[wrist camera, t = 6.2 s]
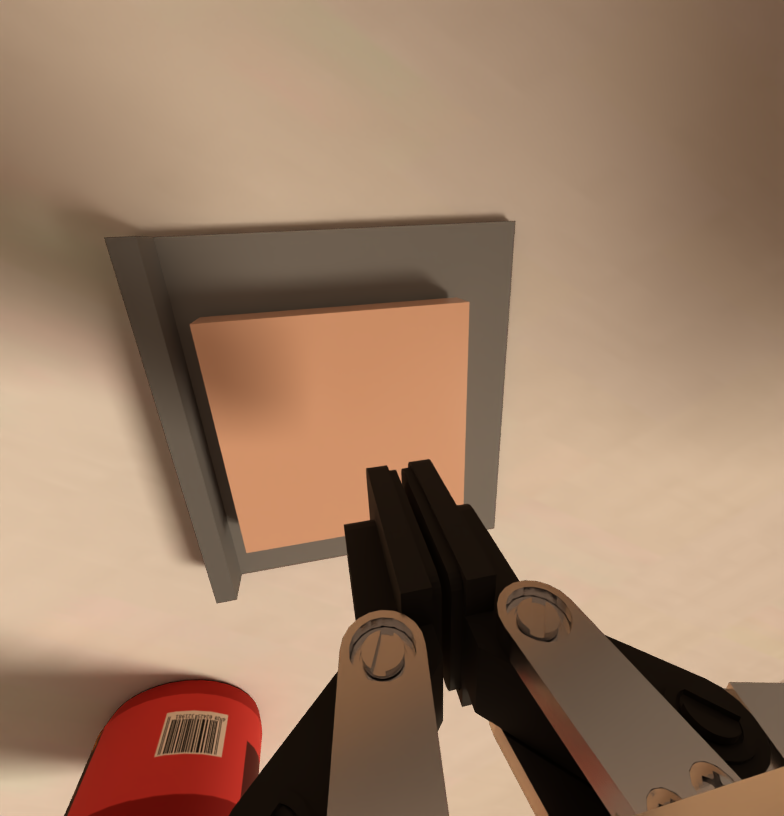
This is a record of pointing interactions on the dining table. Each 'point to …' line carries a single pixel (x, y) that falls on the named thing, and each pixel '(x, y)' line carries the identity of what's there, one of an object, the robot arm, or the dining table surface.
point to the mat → (293, 290)
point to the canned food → (173, 754)
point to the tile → (332, 408)
